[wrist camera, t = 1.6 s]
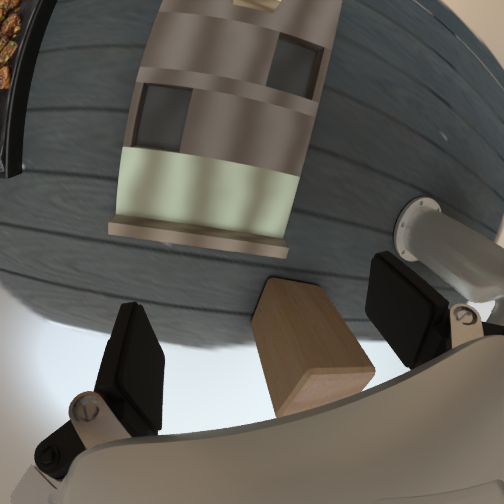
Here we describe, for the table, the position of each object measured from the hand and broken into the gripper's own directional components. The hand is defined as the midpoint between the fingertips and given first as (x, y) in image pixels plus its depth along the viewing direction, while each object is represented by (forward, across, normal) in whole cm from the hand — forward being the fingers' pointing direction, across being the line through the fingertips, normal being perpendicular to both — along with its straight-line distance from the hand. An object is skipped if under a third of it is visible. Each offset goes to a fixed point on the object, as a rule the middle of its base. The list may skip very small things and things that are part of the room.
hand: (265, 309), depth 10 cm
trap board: (+27, -3, -12) cm, 30 cm away
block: (+27, -7, +22) cm, 36 cm away
